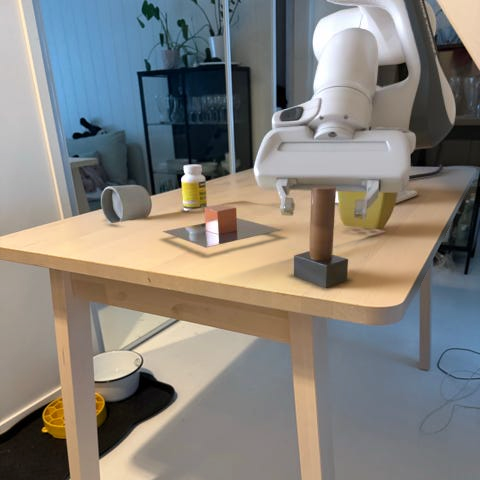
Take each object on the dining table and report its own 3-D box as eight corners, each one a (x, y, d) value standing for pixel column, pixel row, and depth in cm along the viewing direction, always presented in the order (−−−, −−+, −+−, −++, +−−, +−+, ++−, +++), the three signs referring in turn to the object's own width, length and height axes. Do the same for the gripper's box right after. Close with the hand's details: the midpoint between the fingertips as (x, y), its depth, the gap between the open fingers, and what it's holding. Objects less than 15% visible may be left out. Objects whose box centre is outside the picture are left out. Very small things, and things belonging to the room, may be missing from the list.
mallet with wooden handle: (314, 269, 65) (317, 182, 60) (346, 280, 61) (353, 187, 56) (293, 276, 63) (295, 186, 58) (325, 288, 59) (330, 191, 53)
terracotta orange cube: (224, 226, 84) (223, 204, 82) (237, 230, 81) (236, 207, 79) (205, 230, 82) (204, 207, 80) (218, 234, 79) (217, 211, 77)
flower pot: (382, 239, 78) (387, 185, 74) (333, 234, 82) (336, 182, 78) (396, 228, 85) (401, 177, 81) (350, 223, 89) (353, 175, 85)
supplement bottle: (203, 212, 103) (200, 166, 99) (180, 212, 104) (176, 167, 100) (209, 207, 107) (207, 163, 103) (187, 207, 109) (184, 164, 104)
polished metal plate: (234, 224, 91) (234, 217, 91) (281, 238, 81) (281, 229, 80) (163, 239, 83) (162, 231, 82) (205, 256, 73) (204, 247, 72)
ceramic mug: (156, 219, 97) (152, 182, 94) (125, 227, 92) (119, 188, 88) (125, 215, 104) (120, 179, 100) (94, 222, 98) (88, 185, 95)
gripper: (414, 144, 63) (405, 231, 59) (270, 145, 69) (252, 224, 65) (420, 108, 57) (410, 202, 53) (262, 113, 63) (242, 197, 59)
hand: (322, 214), depth 59 cm, fingers open, 8 cm apart
